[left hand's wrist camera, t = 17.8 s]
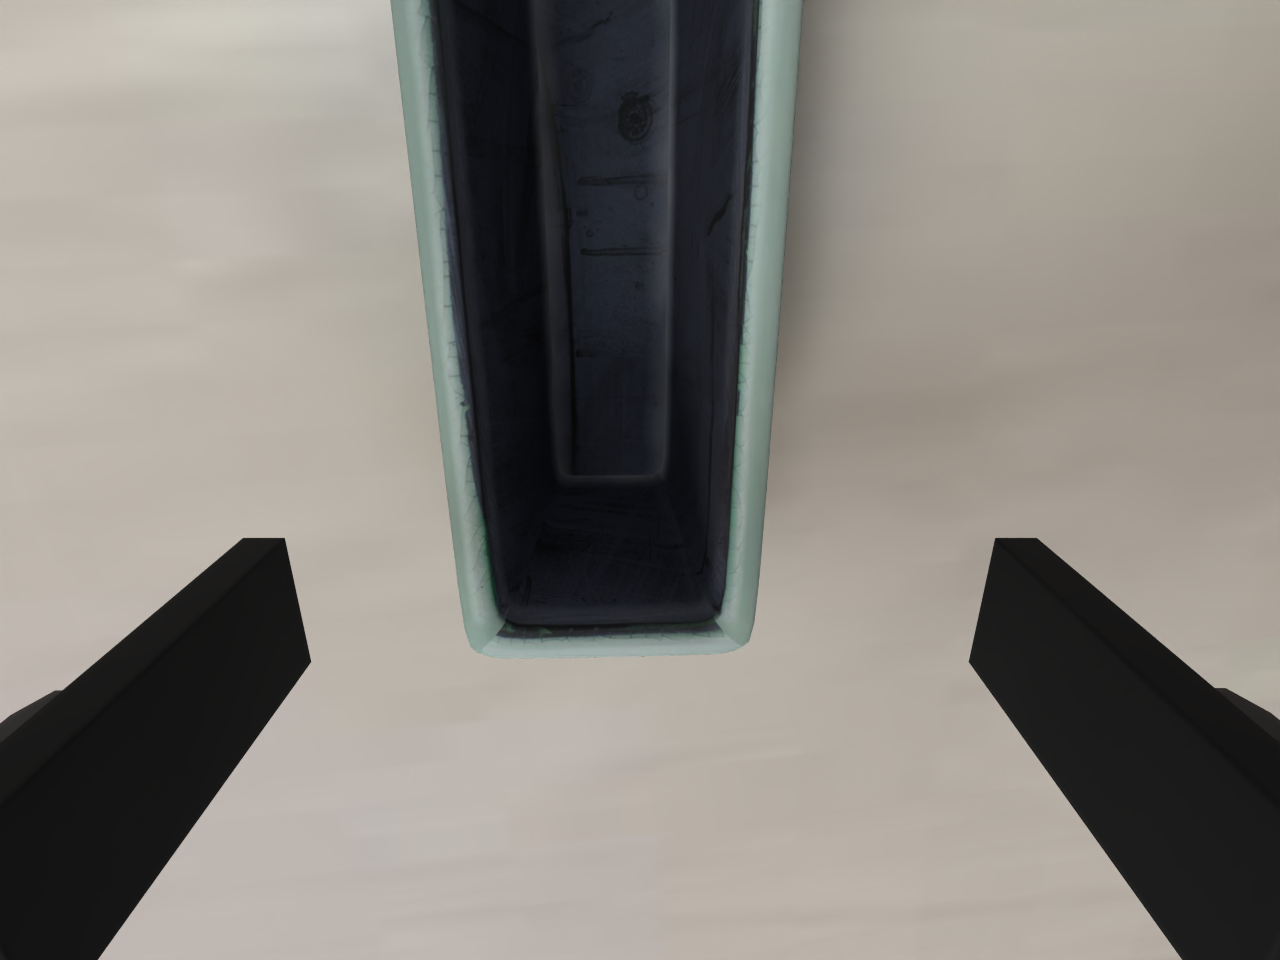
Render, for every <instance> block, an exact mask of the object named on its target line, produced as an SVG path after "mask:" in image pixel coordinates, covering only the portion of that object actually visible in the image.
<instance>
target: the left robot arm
mask: <svg viewBox="0 0 1280 960" xmlns="http://www.w3.org/2000/svg"><path fill="white" fill-rule="evenodd" d="M310 663H311V659H310V654H309V649H308V645H307V640H306V635H305V631H304V626H303V621H302V617H301V612H300V607H299V603H298V598H297V593H296V589H295V584H294V579H293V575H292V570H291V565H290V561H289V556H288V551H287V547H286V542H285V538H243V539H241V540H240V541H239V542H238V543H237V544H236V545H234V546H233V547H232V548H231V549H230V550H228V551H227V552H226V553H225V554H224V555H223V556H221V557H220V558H219V559H218V560H217V561H215V562H214V563H213V564H212V565H211V566H209V567H208V568H207V569H206V570H205V571H204V572H202V573H201V574H200V575H199V576H198V577H196V578H195V579H194V580H193V581H192V582H191V583H189V584H188V585H187V586H186V587H185V588H183V589H182V590H181V591H180V592H179V593H177V594H176V595H175V596H174V597H173V598H172V599H170V600H169V601H168V602H167V603H166V604H164V605H163V606H162V607H161V608H160V609H159V610H157V611H156V612H155V613H154V614H153V615H151V616H150V617H149V618H148V619H147V620H145V621H144V622H143V623H142V624H141V625H140V626H138V627H137V628H136V629H135V630H134V631H132V632H131V633H130V634H129V635H128V636H127V637H125V638H124V639H123V640H122V641H121V642H119V643H118V644H117V645H116V646H115V647H113V648H112V649H111V650H110V651H109V652H108V653H106V654H105V655H104V656H103V657H102V658H100V659H99V660H98V661H97V662H96V663H95V664H93V665H92V666H91V667H90V668H89V669H87V670H86V671H85V672H84V673H83V674H81V675H80V676H79V677H78V678H77V679H76V680H74V681H73V682H72V683H71V684H70V685H68V686H67V687H66V688H65V689H64V690H63V691H53V692H52V693H50V694H48V695H46V696H44V697H43V698H41V699H39V700H37V701H35V702H34V703H32V704H30V705H28V706H26V707H24V708H23V709H21V710H19V711H17V712H15V713H14V714H12V715H10V716H9V717H8V718H6V719H5V720H4V721H3V722H2V723H0V960H98V959H99V957H100V956H101V954H102V953H103V952H104V950H105V949H106V947H107V946H108V945H109V943H110V942H111V940H112V939H113V938H114V936H115V935H116V934H117V932H118V931H119V929H120V928H121V927H122V925H123V924H124V922H125V921H126V920H127V918H128V917H129V915H130V914H131V913H132V911H133V910H134V908H135V907H136V906H137V904H138V903H139V901H140V900H141V899H142V897H143V896H144V894H145V893H146V892H147V890H148V889H149V887H150V886H151V885H152V883H153V882H154V881H155V879H156V878H157V876H158V875H159V874H160V872H161V871H162V869H163V868H164V867H165V865H166V864H167V862H168V861H169V860H170V858H171V857H172V855H173V854H174V853H175V851H176V850H177V848H178V847H179V846H180V844H181V843H182V841H183V840H184V839H185V837H186V836H187V834H188V833H189V832H190V830H191V829H192V827H193V826H194V825H195V823H196V822H197V821H198V819H199V818H200V816H201V815H202V814H203V812H204V811H205V809H206V808H207V807H208V805H209V804H210V802H211V801H212V800H213V798H214V797H215V795H216V794H217V793H218V791H219V790H220V788H221V787H222V786H223V784H224V783H225V781H226V780H227V779H228V777H229V776H230V774H231V773H232V772H233V770H234V769H235V768H236V766H237V765H238V763H239V762H240V761H241V759H242V758H243V756H244V755H245V754H246V752H247V751H248V749H249V748H250V747H251V745H252V744H253V742H254V741H255V740H256V738H257V737H258V735H259V734H260V733H261V731H262V730H263V728H264V727H265V726H266V724H267V723H268V721H269V720H270V719H271V717H272V716H273V714H274V713H275V712H276V710H277V709H278V708H279V706H280V705H281V703H282V702H283V701H284V699H285V698H286V696H287V695H288V694H289V692H290V691H291V689H292V688H293V687H294V685H295V684H296V682H297V681H298V680H299V678H300V677H301V675H302V674H303V673H304V671H305V670H306V668H307V667H308V666H309V664H310ZM969 663H970V664H971V666H972V667H973V668H974V670H975V671H976V673H977V674H978V675H979V677H980V678H981V680H982V681H983V682H984V684H985V685H986V687H987V688H988V689H989V691H990V692H991V694H992V695H993V696H994V698H995V699H996V701H997V702H998V703H999V705H1000V706H1001V708H1002V709H1003V710H1004V712H1005V713H1006V714H1007V716H1008V717H1009V719H1010V720H1011V721H1012V723H1013V724H1014V726H1015V727H1016V728H1017V730H1018V731H1019V733H1020V734H1021V735H1022V737H1023V738H1024V740H1025V741H1026V742H1027V744H1028V745H1029V747H1030V748H1031V749H1032V751H1033V752H1034V754H1035V755H1036V756H1037V758H1038V759H1039V761H1040V762H1041V763H1042V765H1043V766H1044V768H1045V769H1046V770H1047V772H1048V773H1049V774H1050V776H1051V777H1052V779H1053V780H1054V781H1055V783H1056V784H1057V786H1058V787H1059V788H1060V790H1061V791H1062V793H1063V794H1064V795H1065V797H1066V798H1067V800H1068V801H1069V802H1070V804H1071V805H1072V807H1073V808H1074V809H1075V811H1076V812H1077V814H1078V815H1079V816H1080V818H1081V819H1082V821H1083V822H1084V823H1085V825H1086V826H1087V827H1088V829H1089V830H1090V832H1091V833H1092V834H1093V836H1094V837H1095V839H1096V840H1097V841H1098V843H1099V844H1100V846H1101V847H1102V848H1103V850H1104V851H1105V853H1106V854H1107V855H1108V857H1109V858H1110V860H1111V861H1112V862H1113V864H1114V865H1115V867H1116V868H1117V869H1118V871H1119V872H1120V874H1121V875H1122V876H1123V878H1124V879H1125V881H1126V882H1127V883H1128V885H1129V886H1130V887H1131V889H1132V890H1133V892H1134V893H1135V894H1136V896H1137V897H1138V899H1139V900H1140V901H1141V903H1142V904H1143V906H1144V907H1145V908H1146V910H1147V911H1148V913H1149V914H1150V915H1151V917H1152V918H1153V920H1154V921H1155V922H1156V924H1157V925H1158V927H1159V928H1160V929H1161V931H1162V932H1163V934H1164V935H1165V936H1166V938H1167V939H1168V940H1169V942H1170V943H1171V945H1172V946H1173V947H1174V949H1175V950H1176V952H1177V953H1178V954H1179V956H1180V957H1181V959H1182V960H1280V720H1279V719H1278V718H1276V717H1275V716H1274V715H1273V714H1271V713H1270V712H1268V711H1266V710H1265V709H1263V708H1261V707H1259V706H1257V705H1255V704H1254V703H1252V702H1250V701H1248V700H1246V699H1244V698H1243V697H1241V696H1239V695H1237V694H1235V693H1234V692H1232V691H1230V690H1228V689H1226V688H1214V687H1213V686H1212V685H1210V684H1209V683H1208V682H1207V681H1206V680H1204V679H1203V678H1202V677H1201V676H1200V675H1199V674H1197V673H1196V672H1195V671H1194V670H1193V669H1191V668H1190V667H1189V666H1188V665H1187V664H1185V663H1184V662H1183V661H1182V660H1181V659H1180V658H1178V657H1177V656H1176V655H1175V654H1174V653H1172V652H1171V651H1170V650H1169V649H1168V648H1167V647H1165V646H1164V645H1163V644H1162V643H1161V642H1159V641H1158V640H1157V639H1156V638H1155V637H1153V636H1152V635H1151V634H1150V633H1149V632H1148V631H1146V630H1145V629H1144V628H1143V627H1142V626H1140V625H1139V624H1138V623H1137V622H1136V621H1135V620H1133V619H1132V618H1131V617H1130V616H1129V615H1127V614H1126V613H1125V612H1124V611H1123V610H1121V609H1120V608H1119V607H1118V606H1117V605H1116V604H1114V603H1113V602H1112V601H1111V600H1110V599H1108V598H1107V597H1106V596H1105V595H1104V594H1103V593H1101V592H1100V591H1099V590H1098V589H1097V588H1095V587H1094V586H1093V585H1092V584H1091V583H1089V582H1088V581H1087V580H1086V579H1085V578H1084V577H1082V576H1081V575H1080V574H1079V573H1078V572H1076V571H1075V570H1074V569H1073V568H1072V567H1071V566H1069V565H1068V564H1067V563H1066V562H1065V561H1063V560H1062V559H1061V558H1060V557H1059V556H1057V555H1056V554H1055V553H1054V552H1053V551H1052V550H1050V549H1049V548H1048V547H1047V546H1046V545H1044V544H1043V543H1042V542H1041V541H1040V540H1039V539H1037V538H995V542H994V547H993V551H992V556H991V561H990V565H989V570H988V575H987V579H986V584H985V589H984V593H983V598H982V603H981V607H980V612H979V617H978V621H977V626H976V631H975V635H974V640H973V645H972V649H971V654H970V659H969Z"/></svg>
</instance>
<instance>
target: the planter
mask: <svg viewBox="0 0 1280 960" xmlns="http://www.w3.org/2000/svg"><path fill="white" fill-rule="evenodd" d="M391 9H392V18H393V26H394V35H395V44H396V53H397V62H398V70H399V79H400V88H401V97H402V106H403V114H404V123H405V132H406V141H407V150H408V158H409V167H410V176H411V185H412V194H413V202H414V211H415V220H416V229H417V238H418V246H419V255H420V264H421V273H422V282H423V290H424V299H425V308H426V316H427V325H428V334H429V342H430V351H431V360H432V368H433V377H434V386H435V394H436V403H437V412H438V420H439V429H440V437H441V446H442V455H443V463H444V472H445V481H446V489H447V498H448V506H449V514H450V522H451V531H452V539H453V547H454V555H455V564H456V572H457V580H458V587H459V594H460V600H461V607H462V614H463V620H464V627H465V631H466V634H467V637H468V641H469V644H470V647H471V648H473V649H474V650H475V651H476V652H478V653H480V654H483V655H486V656H490V657H495V658H582V657H632V656H672V655H703V654H720V653H727V652H731V651H734V650H737V649H739V648H741V647H743V646H744V645H745V644H746V643H747V642H749V639H750V636H751V632H752V629H753V625H754V620H755V611H756V602H757V594H758V585H759V576H760V563H761V551H762V539H763V527H764V514H765V502H766V490H767V477H768V464H769V451H770V437H771V424H772V411H773V398H774V385H775V372H776V359H777V345H778V332H779V319H780V306H781V293H782V279H783V266H784V252H785V239H786V225H787V212H788V198H789V185H790V171H791V158H792V144H793V131H794V117H795V104H796V90H797V77H798V63H799V50H800V36H801V23H802V9H803V0H391Z"/></svg>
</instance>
